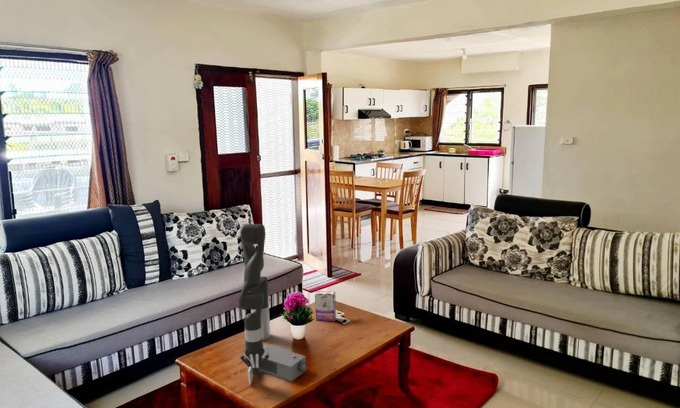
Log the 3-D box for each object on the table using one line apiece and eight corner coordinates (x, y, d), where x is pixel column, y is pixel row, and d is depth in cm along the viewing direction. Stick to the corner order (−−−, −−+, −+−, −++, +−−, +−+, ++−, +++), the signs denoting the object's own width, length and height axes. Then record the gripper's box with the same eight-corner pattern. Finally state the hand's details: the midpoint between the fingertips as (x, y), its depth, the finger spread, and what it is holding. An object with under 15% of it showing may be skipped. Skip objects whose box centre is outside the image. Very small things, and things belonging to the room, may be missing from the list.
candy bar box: (336, 318, 278) (335, 291, 275) (334, 321, 273) (334, 294, 270) (317, 317, 280) (316, 290, 277) (315, 320, 275) (314, 293, 272)
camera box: (253, 368, 223) (253, 353, 222) (269, 358, 232) (268, 343, 231) (294, 382, 211) (293, 366, 209) (309, 371, 220) (308, 355, 218)
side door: (251, 367, 223) (251, 355, 222) (254, 366, 223) (254, 354, 222) (247, 384, 209) (247, 371, 208) (250, 383, 209) (250, 371, 208)
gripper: (236, 342, 204) (239, 379, 206) (268, 340, 204) (270, 378, 207) (239, 334, 211) (242, 371, 214) (270, 333, 211) (272, 369, 214)
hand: (256, 374), depth 210 cm, fingers closed
